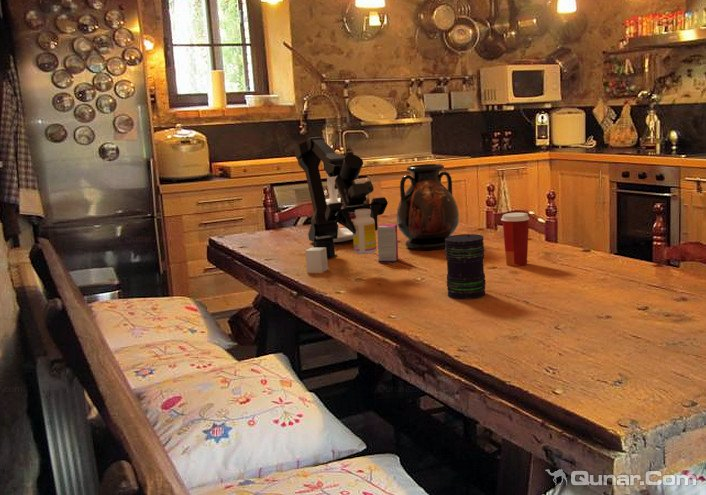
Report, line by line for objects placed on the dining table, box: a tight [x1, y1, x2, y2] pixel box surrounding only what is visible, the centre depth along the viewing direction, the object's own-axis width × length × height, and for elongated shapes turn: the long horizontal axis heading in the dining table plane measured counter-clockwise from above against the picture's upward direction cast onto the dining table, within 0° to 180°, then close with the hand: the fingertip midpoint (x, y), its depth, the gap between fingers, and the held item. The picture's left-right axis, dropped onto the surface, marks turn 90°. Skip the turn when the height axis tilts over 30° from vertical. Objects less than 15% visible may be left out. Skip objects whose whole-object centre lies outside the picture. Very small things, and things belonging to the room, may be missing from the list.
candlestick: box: [325, 173, 353, 243], centre depth 286 cm, size 21×25×28 cm
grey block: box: [304, 247, 329, 274], centre depth 236 cm, size 5×5×7 cm
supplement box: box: [376, 224, 399, 264], centre depth 244 cm, size 6×6×12 cm
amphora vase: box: [396, 163, 460, 251], centre depth 262 cm, size 22×22×28 cm
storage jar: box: [444, 233, 486, 301], centre depth 194 cm, size 10×10×15 cm
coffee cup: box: [500, 212, 530, 267], centre depth 226 cm, size 8×8×15 cm
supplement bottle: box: [352, 209, 377, 255], centre depth 225 cm, size 7×7×13 cm
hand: (365, 231), depth 223 cm, fingers closed on supplement bottle, 7 cm apart
